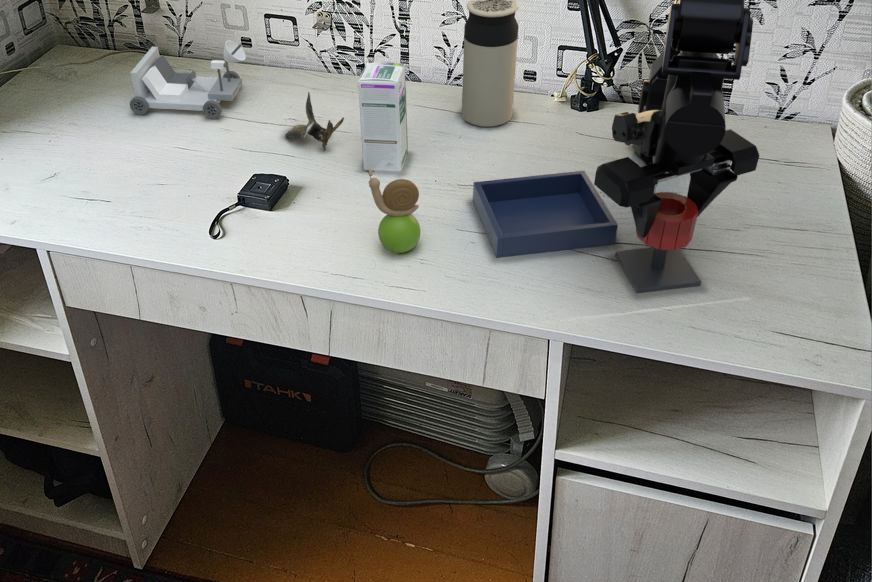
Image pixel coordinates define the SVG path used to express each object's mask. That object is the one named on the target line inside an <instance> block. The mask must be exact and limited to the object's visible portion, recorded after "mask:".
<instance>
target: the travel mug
mask: <svg viewBox="0 0 872 582" xmlns="http://www.w3.org/2000/svg"><path fill="white" fill-rule="evenodd" d="M466 9H467V10H468V19H467V20H466V21H465V23H464V25H463V26H464V29H463V34H464V35H463V57H462V58H463V59H462V61H463V62H462V64H463V65H462V88H461V89H462V91H461V117H462V118H463V120H464V121H466V122H467V123H470V124H472V125H473V126H478V127H488V128H490V127H497V126H501V125H504V124H506V123H509V121H510V120H511V119H512V117H513V111H514V95H515V83H516V80H515V79H516V69H517V55H518V54H517V53H518V38H519V23H518V21H517V19H516V12H517V10H518V9H519V3H518V2H517V1H516V0H468V1H467V3H466Z"/></svg>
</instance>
